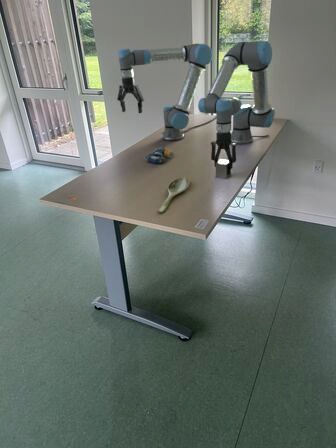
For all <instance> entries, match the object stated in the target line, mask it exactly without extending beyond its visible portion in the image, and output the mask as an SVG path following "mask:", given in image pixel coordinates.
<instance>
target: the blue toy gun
mask: <svg viewBox="0 0 336 448" xmlns="http://www.w3.org/2000/svg"><path fill="white" fill-rule="evenodd" d="M164 156H165V157H166V158H168V159H172V158H173V157H174V156H175V154H174V151H172V150H169V149H166V148H165V147H156V148H155V150H153V151H151V152H150V153H149V154H147V155H146V156H145V159H144V160H145V162H147V163H152V164H155V165H156V164H162V163H163V162H165V159H166V158H165V157H164Z"/></svg>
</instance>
